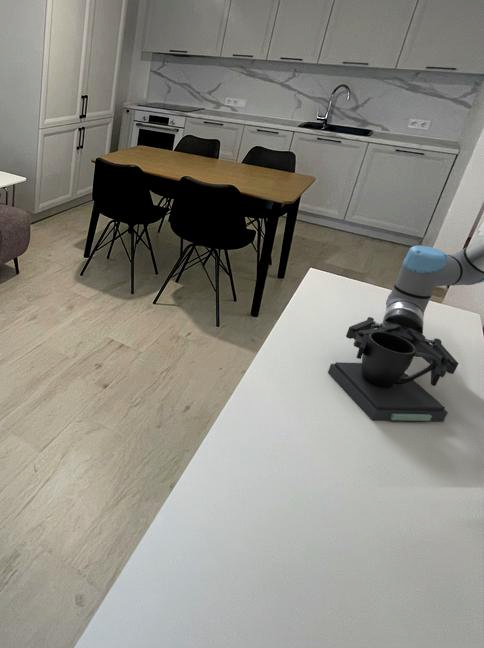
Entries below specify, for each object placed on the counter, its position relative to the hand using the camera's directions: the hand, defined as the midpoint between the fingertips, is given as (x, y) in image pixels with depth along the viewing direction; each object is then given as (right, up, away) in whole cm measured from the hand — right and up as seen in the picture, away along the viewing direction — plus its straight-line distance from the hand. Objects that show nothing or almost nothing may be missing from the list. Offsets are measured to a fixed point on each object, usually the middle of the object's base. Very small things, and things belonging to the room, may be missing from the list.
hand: (396, 366), depth 99 cm
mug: (+2, -5, +5) cm, 8 cm away
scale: (+2, -8, +7) cm, 10 cm away
